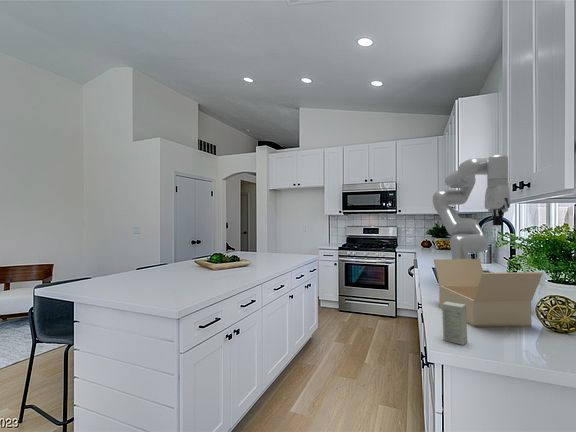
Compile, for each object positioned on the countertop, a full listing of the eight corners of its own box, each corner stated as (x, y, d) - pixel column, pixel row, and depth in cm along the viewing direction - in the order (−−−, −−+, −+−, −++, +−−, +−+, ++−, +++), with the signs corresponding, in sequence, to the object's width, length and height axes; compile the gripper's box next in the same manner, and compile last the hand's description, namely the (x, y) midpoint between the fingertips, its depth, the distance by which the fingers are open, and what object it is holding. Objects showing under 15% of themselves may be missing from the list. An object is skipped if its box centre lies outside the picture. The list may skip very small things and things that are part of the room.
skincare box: (467, 341, 99) (467, 304, 99) (463, 345, 96) (463, 307, 96) (446, 336, 104) (446, 300, 104) (442, 339, 101) (441, 303, 101)
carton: (439, 307, 136) (439, 285, 136) (487, 306, 137) (487, 285, 137) (473, 327, 112) (473, 300, 112) (531, 326, 113) (531, 300, 113)
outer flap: (482, 272, 107) (483, 273, 107) (541, 272, 108) (542, 273, 107) (473, 300, 112) (474, 301, 112) (530, 299, 113) (531, 300, 112)
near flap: (479, 259, 142) (478, 259, 142) (434, 259, 141) (433, 259, 142) (486, 284, 137) (486, 285, 137) (439, 285, 136) (439, 285, 137)
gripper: (478, 185, 140) (478, 224, 140) (501, 181, 125) (501, 225, 125) (494, 185, 140) (494, 224, 140) (519, 181, 125) (519, 225, 125)
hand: (497, 225), depth 133 cm, fingers closed
